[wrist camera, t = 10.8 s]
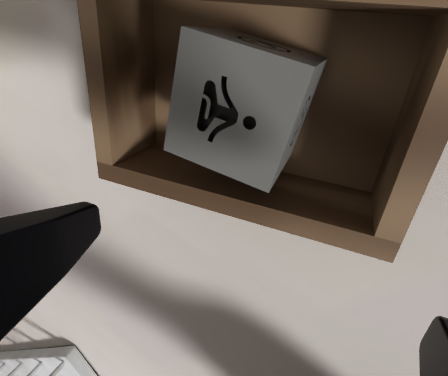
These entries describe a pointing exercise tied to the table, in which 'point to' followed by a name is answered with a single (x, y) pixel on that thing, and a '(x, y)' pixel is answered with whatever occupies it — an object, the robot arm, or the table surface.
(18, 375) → the file sorter
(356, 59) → the open wooden box
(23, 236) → the robot arm
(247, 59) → the dice cube
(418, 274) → the table surface
